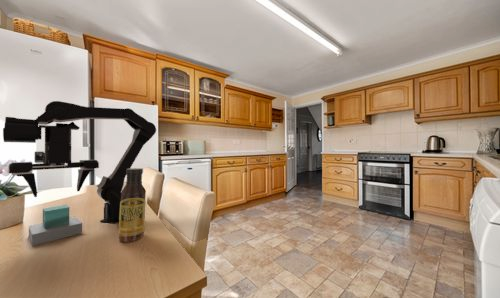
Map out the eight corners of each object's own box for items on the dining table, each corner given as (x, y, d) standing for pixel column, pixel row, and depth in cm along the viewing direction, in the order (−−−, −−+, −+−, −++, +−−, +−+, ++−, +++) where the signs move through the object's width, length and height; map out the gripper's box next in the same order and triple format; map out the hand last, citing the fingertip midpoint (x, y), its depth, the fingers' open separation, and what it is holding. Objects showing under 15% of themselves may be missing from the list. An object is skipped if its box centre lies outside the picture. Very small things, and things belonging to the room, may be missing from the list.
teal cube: (69, 223, 57) (69, 207, 57) (44, 229, 53) (45, 211, 53) (65, 220, 60) (65, 204, 60) (42, 225, 56) (42, 208, 56)
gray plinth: (82, 232, 57) (82, 222, 57) (32, 246, 49) (32, 234, 49) (74, 225, 63) (74, 216, 63) (28, 236, 55) (28, 225, 55)
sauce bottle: (116, 245, 49) (116, 170, 49) (120, 236, 55) (120, 168, 55) (145, 239, 52) (145, 168, 52) (146, 231, 58) (146, 167, 58)
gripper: (89, 144, 70) (89, 186, 70) (7, 143, 55) (7, 196, 55) (99, 143, 63) (99, 189, 63) (9, 141, 48) (9, 202, 48)
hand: (58, 193), depth 57 cm, fingers open, 9 cm apart
